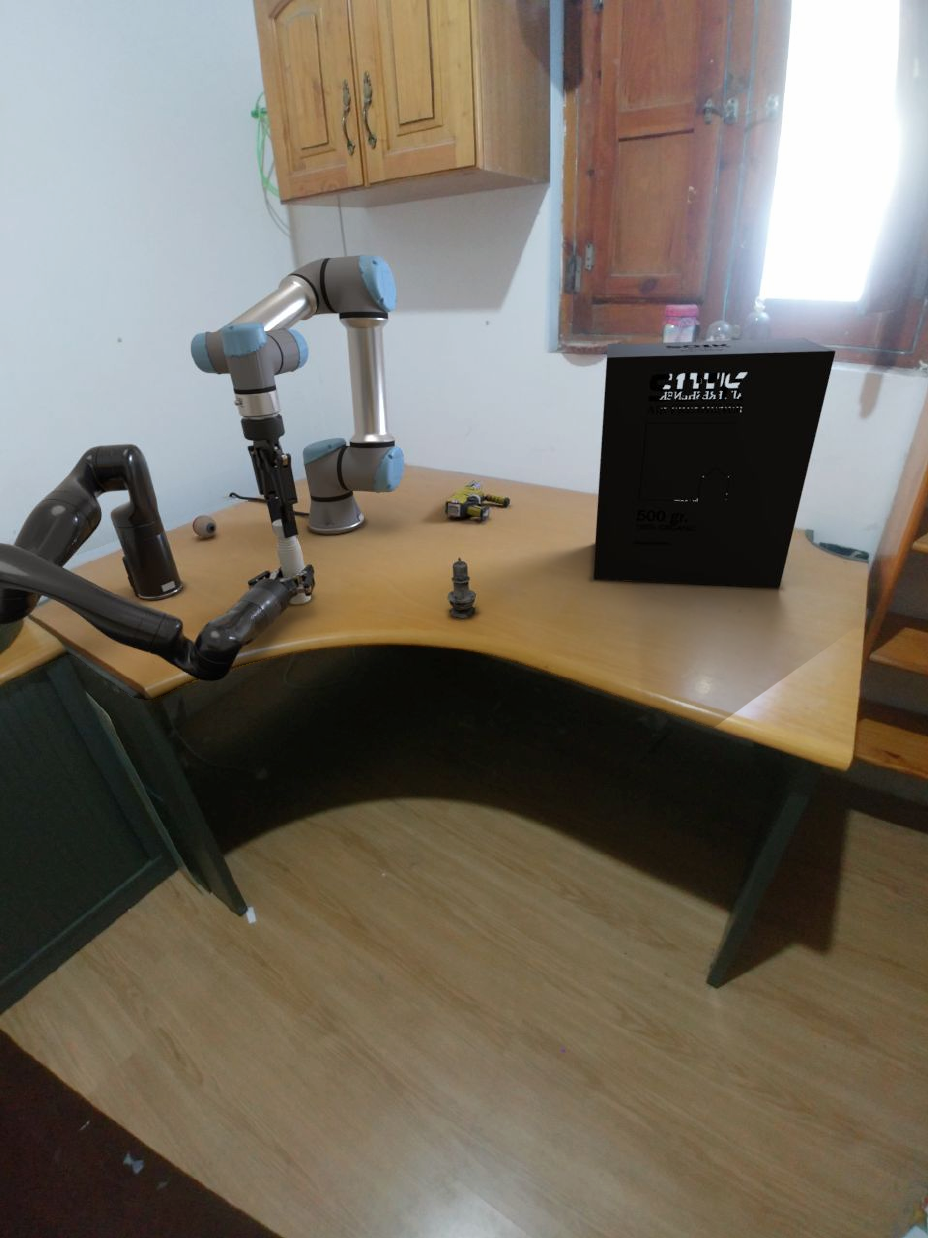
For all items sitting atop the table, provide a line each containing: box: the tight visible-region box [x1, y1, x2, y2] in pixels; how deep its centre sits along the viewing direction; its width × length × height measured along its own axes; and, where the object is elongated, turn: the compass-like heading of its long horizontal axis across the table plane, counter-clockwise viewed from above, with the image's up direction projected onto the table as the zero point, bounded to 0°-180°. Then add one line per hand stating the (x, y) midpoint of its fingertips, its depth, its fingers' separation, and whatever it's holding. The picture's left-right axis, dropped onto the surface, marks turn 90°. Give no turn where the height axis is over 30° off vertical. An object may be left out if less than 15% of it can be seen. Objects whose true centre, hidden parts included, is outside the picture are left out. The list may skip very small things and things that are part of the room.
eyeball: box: [192, 514, 217, 538], centre depth 165 cm, size 6×6×6 cm
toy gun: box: [444, 480, 511, 521], centre depth 175 cm, size 5×24×15 cm
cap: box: [271, 519, 285, 538], centre depth 123 cm, size 4×5×2 cm
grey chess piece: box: [446, 556, 477, 619], centre depth 120 cm, size 6×6×12 cm
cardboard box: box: [592, 337, 836, 589], centre depth 125 cm, size 38×20×45 cm, turn 78°
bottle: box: [276, 535, 312, 605], centre depth 127 cm, size 5×5×17 cm
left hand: (299, 567), depth 130 cm, fingers closed on bottle, 4 cm apart
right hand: (285, 532), depth 124 cm, fingers closed on cap, 4 cm apart
